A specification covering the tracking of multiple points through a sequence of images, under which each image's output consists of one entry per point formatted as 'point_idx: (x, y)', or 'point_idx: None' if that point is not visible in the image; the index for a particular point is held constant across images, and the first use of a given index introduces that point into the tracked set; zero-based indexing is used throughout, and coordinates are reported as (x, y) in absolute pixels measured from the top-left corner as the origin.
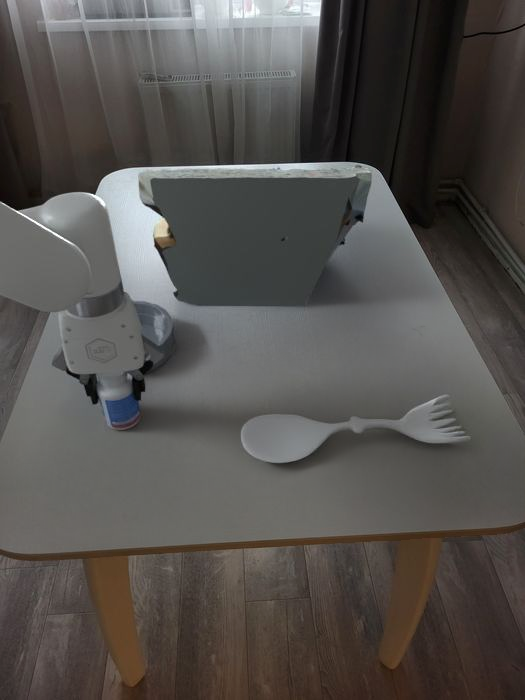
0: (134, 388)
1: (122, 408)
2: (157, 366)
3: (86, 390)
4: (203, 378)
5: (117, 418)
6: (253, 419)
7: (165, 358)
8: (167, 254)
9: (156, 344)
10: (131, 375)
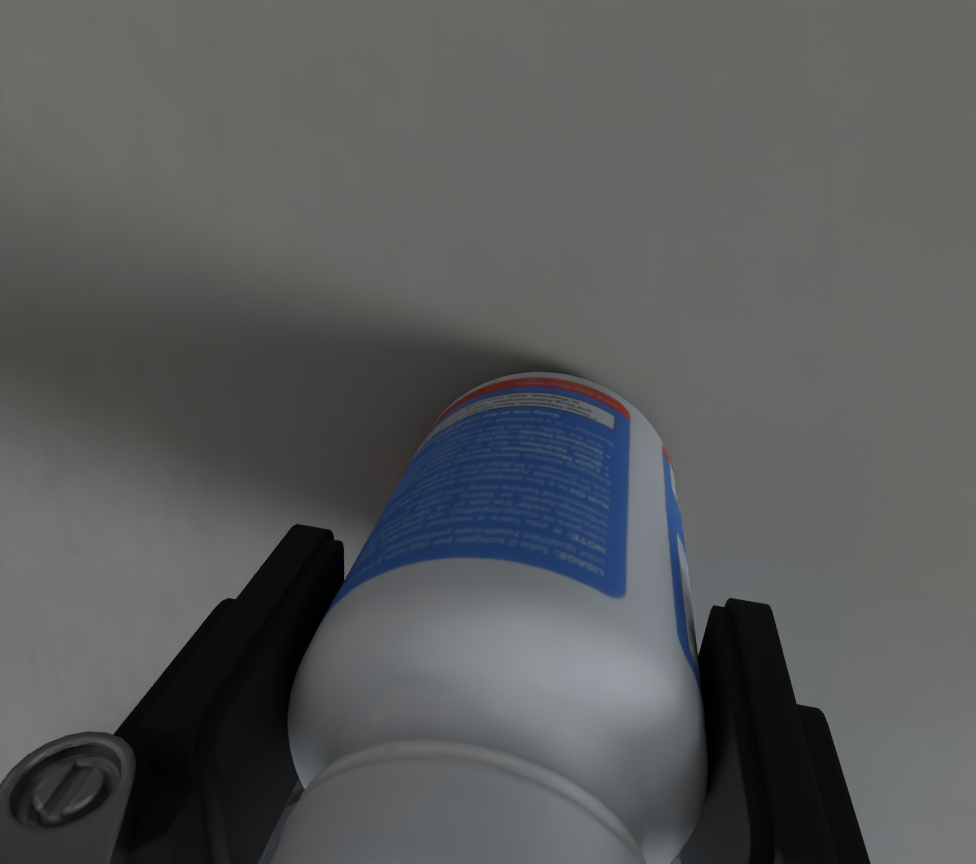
0: (246, 646)
1: (472, 482)
2: None
3: (832, 786)
4: (81, 641)
5: (556, 428)
6: None
7: (276, 826)
8: None
9: None
10: None
